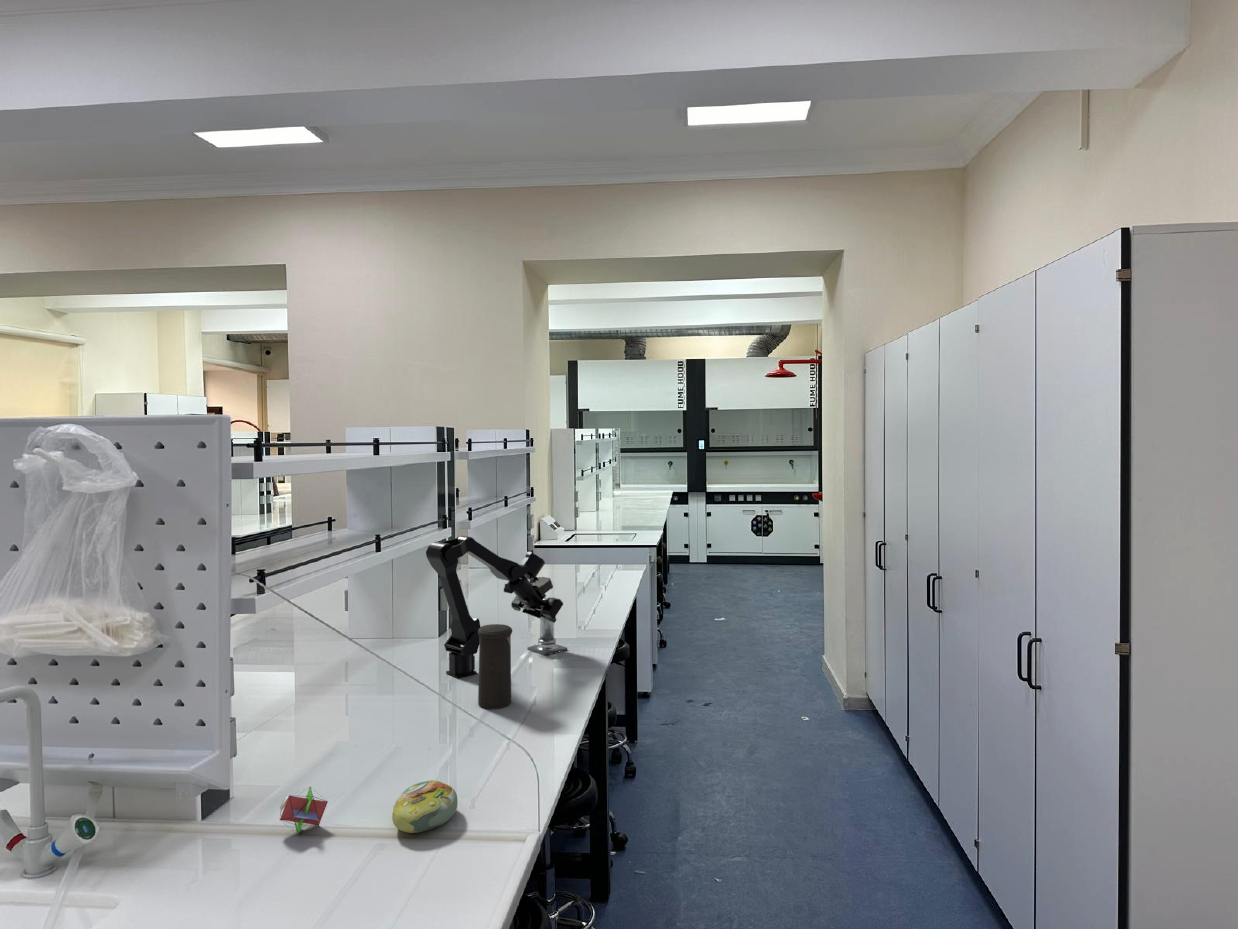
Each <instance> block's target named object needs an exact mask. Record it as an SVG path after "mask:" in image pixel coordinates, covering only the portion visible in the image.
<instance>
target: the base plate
mask: <svg viewBox="0 0 1238 929" xmlns="http://www.w3.org/2000/svg"><path fill="white" fill-rule="evenodd" d="M526 649H527V651H530V650H531V651H530V652H533V653H536V654H539V655H542V654H543V655H542V656H548V655H547V654H550V655H553V653H554V654H557V653H556V652H558V653H560V652H559V651H562V652H564V651H563V650H566V651H568V647H567V646H563V645H559V644H557V643H555V644H553V645H540V644H536V645H535V644H534V645H531V646H527V648H526Z"/></svg>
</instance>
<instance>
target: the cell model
mask: <svg viewBox="0 0 1238 929" xmlns="http://www.w3.org/2000/svg"><path fill="white" fill-rule="evenodd" d="M457 808H458V795H457V791H456V790H455V789H454V788H453V787H452V786H450V785H449V784H447V783H444V782H442V781H440V780H433V779H432V780H425V781H422V782H418V783H415V784H413V785H411V786H408V788H406V789H405V790H404V791H403V792H402V793H400V795H399V796H398V798H397V799H396V801H395V803H394V805H393V810H392V816H391V818H392V822H393V823H392V824H393V825H394V826H395V828H396V829H397V830H399V831H401V832H404V833H411V834H414V833H421V832H422V833H423V832H425V831H429V830H433V829H435V828H437V827H440V826H441V825H443V824H445V823H446V822H448V820H450V819H451V818H452V817H453V815H455V813H456V811H457Z"/></svg>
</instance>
